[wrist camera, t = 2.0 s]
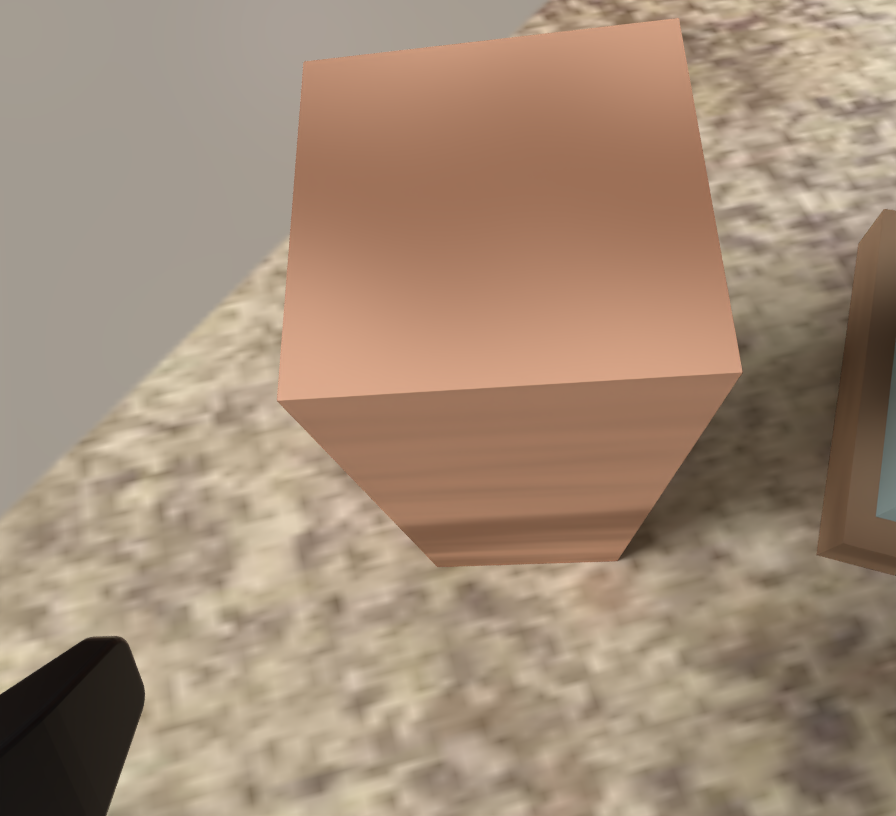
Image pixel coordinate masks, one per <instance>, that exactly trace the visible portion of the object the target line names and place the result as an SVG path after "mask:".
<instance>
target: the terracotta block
mask: <svg viewBox="0 0 896 816" xmlns="http://www.w3.org/2000/svg"><path fill="white" fill-rule="evenodd" d="M742 373H743V372H742V366H741V361H740V355H739V349H738V344H737V338H736V333H735V327H734V322H733V316H732V311H731V305H730V300H729V294H728V288H727V283H726V277H725V272H724V266H723V261H722V255H721V250H720V244H719V239H718V233H717V227H716V222H715V216H714V211H713V205H712V200H711V194H710V189H709V183H708V178H707V172H706V166H705V161H704V155H703V150H702V144H701V139H700V133H699V128H698V122H697V117H696V111H695V105H694V100H693V94H692V89H691V83H690V78H689V72H688V67H687V61H686V56H685V50H684V44H683V39H682V33H681V28H680V22H679V18H676V19H667V20H659V21H650V22H641V23H633V24H624V25H615V26H607V27H598V28H590V29H581V30H572V31H564V32H555V33H546V34H538V35H529V36H521V37H512V38H503V39H495V40H487V41H478V42H469V43H460V44H452V45H443V46H435V47H426V48H417V49H410V50H400V51H392V52H383V53H374V54H365V55H357V56H348V57H340V58H331V59H323V60H314V61H305V62H304V64H303V77H302V89H301V102H300V115H299V127H298V141H297V153H296V165H295V179H294V192H293V203H292V217H291V229H290V241H289V254H288V267H287V280H286V292H285V305H284V318H283V330H282V343H281V356H280V368H279V381H278V394H277V401H278V402H279V403H280V404H281V405H282V406H283V408H284V409H285V410H286V411H287V412H288V413H289V414H290V415H291V416H292V417H293V418H294V419H295V420H296V421H297V422H298V423H299V424H300V425H301V426H302V427H303V428H304V429H305V430H306V431H307V432H308V433H309V434H310V435H311V437H312V438H313V439H314V440H315V441H316V442H317V443H318V444H319V445H320V446H321V447H322V448H323V449H324V450H325V451H326V452H327V453H328V454H329V455H330V456H331V457H332V458H333V459H334V460H335V461H336V462H337V463H338V464H339V465H340V467H341V468H342V469H343V470H344V471H345V472H346V473H347V474H348V475H349V476H350V477H351V478H352V479H353V480H354V481H355V482H356V483H357V484H358V485H359V486H360V487H361V488H362V489H363V490H364V491H365V492H366V493H367V494H368V496H369V497H370V498H371V499H372V500H373V501H374V502H375V503H376V504H377V505H378V506H379V507H380V508H381V509H382V510H383V511H384V512H385V513H386V514H387V515H388V516H389V517H390V518H391V519H392V520H393V521H394V522H395V523H396V524H397V526H398V527H399V528H400V529H401V530H402V531H403V532H404V533H405V534H406V535H407V536H408V537H409V538H410V539H411V540H412V541H413V542H414V543H415V544H416V545H417V546H418V547H419V548H420V549H421V550H422V551H423V552H424V553H425V555H426V556H427V557H428V558H429V559H430V560H431V561H432V562H433V563H434V564H435V565H436V566H437V567H453V566H483V565H514V564H544V563H575V562H605V561H617V560H618V559H619V557H620V556H621V554H622V553H623V551H624V550H625V548H626V547H627V545H628V544H629V542H630V541H631V539H632V538H633V536H634V535H635V533H636V532H637V530H638V529H639V527H640V526H641V524H642V523H643V521H644V520H645V518H646V517H647V515H648V514H649V512H650V511H651V509H652V508H653V506H654V505H655V503H656V502H657V500H658V499H659V497H660V496H661V494H662V493H663V491H664V490H665V488H666V487H667V485H668V484H669V482H670V481H671V479H672V478H673V476H674V475H675V473H676V472H677V470H678V469H679V467H680V466H681V464H682V463H683V461H684V460H685V458H686V457H687V455H688V454H689V452H690V451H691V449H692V448H693V446H694V445H695V443H696V442H697V440H698V439H699V437H700V436H701V434H702V433H703V431H704V430H705V428H706V427H707V425H708V424H709V422H710V421H711V419H712V418H713V416H714V415H715V413H716V412H717V410H718V409H719V407H720V406H721V404H722V403H723V401H724V400H725V398H726V397H727V395H728V394H729V392H730V391H731V389H732V388H733V386H734V385H735V383H736V382H737V380H738V379H739V377H740V376H741V374H742Z"/></svg>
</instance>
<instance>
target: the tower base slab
mask: <svg viewBox="0 0 896 816" xmlns="http://www.w3.org/2000/svg"><path fill="white" fill-rule="evenodd" d="M895 342H896V211H894V210H888V209H884V210H883V211H882V212H881V214H880V215H879V217H878V218H877V219H876V221H875V222H874V223H873V225H872V226H871V227H870V229H869V230H868V232H867V233H866V234H865V236H864V237H863V238H862V240H861V241H860V242H859V244H858V252H857V259H856V266H855V274H854V281H853V289H852V296H851V303H850V311H849V318H848V326H847V333H846V340H845V348H844V355H843V362H842V370H841V377H840V385H839V392H838V399H837V407H836V414H835V422H834V429H833V436H832V444H831V451H830V459H829V466H828V473H827V481H826V488H825V495H824V503H823V510H822V518H821V525H820V532H819V540H818V547H817V555H819V556H822V557H826V558H830V559H834V560H838V561H842V562H845V563H849V564H853V565H857V566H861V567H864V568H868V569H872V570H876V571H880V572H883V573H887V574H891V575H895V576H896V522H895V521H891V520H887V519H883V518H879V517H876V510H877V501H878V492H879V483H880V474H881V466H882V457H883V448H884V439H885V430H886V421H887V412H888V404H889V395H890V386H891V377H892V368H893V359H894V351H895Z"/></svg>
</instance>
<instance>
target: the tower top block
mask: <svg viewBox="0 0 896 816" xmlns="http://www.w3.org/2000/svg"><path fill="white" fill-rule="evenodd" d="M876 517H879V518H883V519H887V520H891V521H895V522H896V342H895V351H894V359H893V368H892V377H891V386H890V395H889V404H888V412H887V421H886V430H885V439H884V448H883V457H882V466H881V474H880V483H879V492H878V501H877V510H876Z"/></svg>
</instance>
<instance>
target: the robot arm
mask: <svg viewBox="0 0 896 816" xmlns="http://www.w3.org/2000/svg"><path fill="white" fill-rule="evenodd" d="M144 701H145V690H144V685H143V682H142V679H141V676H140V674H139V671H138V668H137V666H136V663H135V660H134V658H133V655H132V652H131V649H130V647H129V645H128V643H127V641H126V640H125V639H123V638H122V637H119V636H102V637H90V638H87V639H84V640H83V641H81V642H79V643H78V644H76V645H75V646H73V647H72V648H70V649H69V650H67V651H66V652H64V653H63V654H61V655H60V656H58V657H57V658H55V659H54V660H52V661H51V662H49V663H47V664H46V665H44V666H43V667H41V668H40V669H38V670H37V671H35V672H34V673H32V674H31V675H29V676H28V677H26V678H25V679H23V680H22V681H20V682H19V683H17V684H16V685H14V686H12V687H11V688H9V689H8V690H6V691H5V692H3V693H2V694H0V816H106V815H107V812H108V809H109V806H110V803H111V801H112V798H113V795H114V792H115V789H116V786H117V783H118V780H119V777H120V774H121V771H122V769H123V766H124V763H125V760H126V757H127V754H128V751H129V748H130V745H131V742H132V739H133V736H134V734H135V731H136V728H137V725H138V722H139V719H140V716H141V713H142V710H143V706H144Z"/></svg>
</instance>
